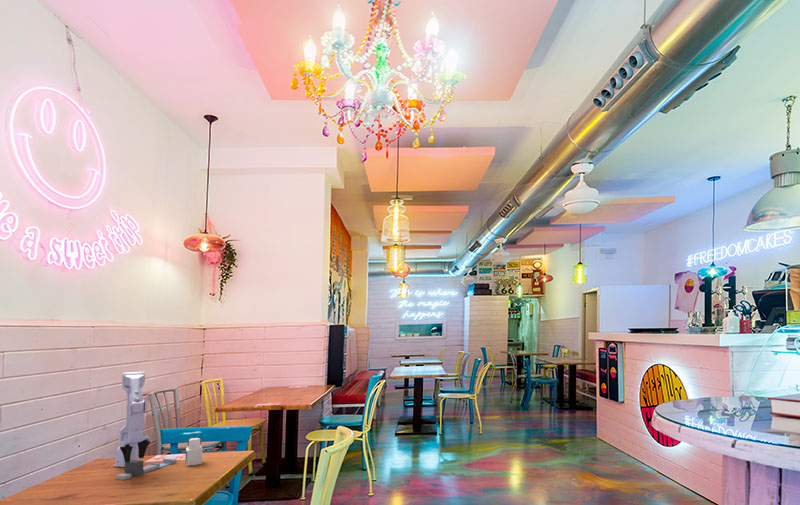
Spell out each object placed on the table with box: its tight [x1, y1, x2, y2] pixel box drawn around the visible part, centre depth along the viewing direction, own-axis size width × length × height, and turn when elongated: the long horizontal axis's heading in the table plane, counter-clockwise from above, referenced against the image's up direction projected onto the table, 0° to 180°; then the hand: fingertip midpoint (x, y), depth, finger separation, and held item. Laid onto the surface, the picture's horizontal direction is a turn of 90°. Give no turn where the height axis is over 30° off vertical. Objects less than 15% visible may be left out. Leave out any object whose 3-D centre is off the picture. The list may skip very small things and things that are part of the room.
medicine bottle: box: [185, 436, 204, 467], centre depth 241 cm, size 7×7×12 cm
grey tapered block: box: [123, 459, 144, 478], centre depth 224 cm, size 7×4×6 cm, turn 71°
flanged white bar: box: [115, 458, 177, 481], centre depth 231 cm, size 5×30×2 cm, turn 161°
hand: (134, 460), depth 224 cm, fingers open, 7 cm apart
